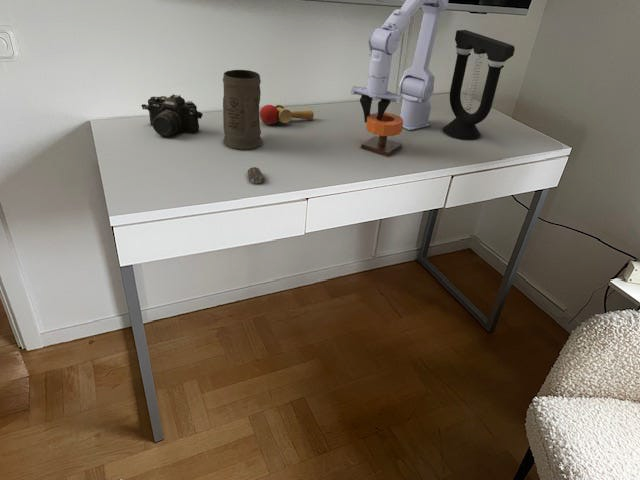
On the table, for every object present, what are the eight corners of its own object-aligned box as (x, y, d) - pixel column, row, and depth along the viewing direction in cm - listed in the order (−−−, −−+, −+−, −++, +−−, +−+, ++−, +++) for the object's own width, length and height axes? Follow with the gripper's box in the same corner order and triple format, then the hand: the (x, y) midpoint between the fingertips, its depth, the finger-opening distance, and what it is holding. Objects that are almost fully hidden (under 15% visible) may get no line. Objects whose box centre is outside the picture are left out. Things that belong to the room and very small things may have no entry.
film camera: (135, 137, 140) (130, 102, 135) (146, 122, 150) (142, 89, 145) (199, 141, 141) (197, 106, 136) (206, 125, 152) (204, 93, 146)
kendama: (303, 118, 167) (254, 116, 158) (308, 101, 163) (258, 98, 154) (313, 130, 162) (262, 129, 153) (318, 113, 158) (267, 110, 149)
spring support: (429, 125, 167) (448, 30, 150) (456, 121, 172) (478, 29, 156) (471, 148, 152) (498, 46, 135) (500, 143, 157) (529, 44, 141)
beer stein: (253, 153, 137) (255, 79, 127) (217, 147, 138) (216, 73, 129) (269, 137, 150) (272, 69, 140) (235, 132, 152) (236, 64, 142)
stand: (375, 139, 153) (378, 118, 149) (401, 147, 149) (405, 126, 145) (360, 147, 146) (363, 126, 143) (388, 156, 142) (391, 135, 139)
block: (259, 172, 127) (259, 166, 126) (265, 183, 123) (265, 176, 122) (245, 174, 126) (245, 167, 125) (251, 184, 122) (251, 178, 121)
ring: (384, 121, 150) (385, 110, 148) (408, 132, 144) (410, 120, 142) (359, 127, 145) (360, 116, 143) (383, 138, 138) (384, 127, 137)
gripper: (349, 74, 136) (344, 121, 144) (400, 83, 132) (392, 132, 139) (358, 68, 142) (352, 114, 149) (407, 77, 138) (399, 124, 145)
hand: (372, 122), depth 145 cm, fingers closed on ring, 3 cm apart
